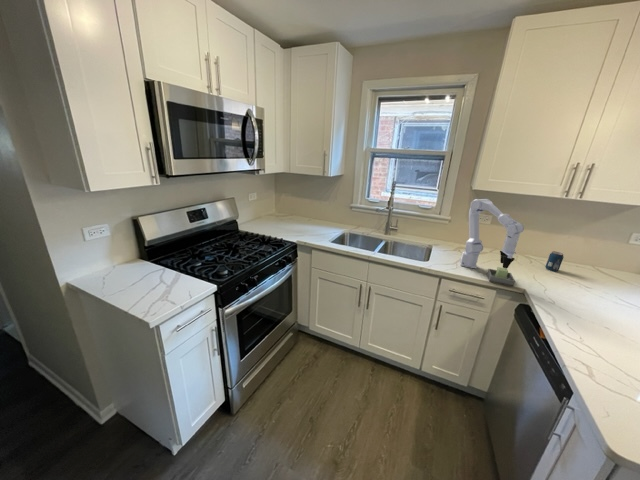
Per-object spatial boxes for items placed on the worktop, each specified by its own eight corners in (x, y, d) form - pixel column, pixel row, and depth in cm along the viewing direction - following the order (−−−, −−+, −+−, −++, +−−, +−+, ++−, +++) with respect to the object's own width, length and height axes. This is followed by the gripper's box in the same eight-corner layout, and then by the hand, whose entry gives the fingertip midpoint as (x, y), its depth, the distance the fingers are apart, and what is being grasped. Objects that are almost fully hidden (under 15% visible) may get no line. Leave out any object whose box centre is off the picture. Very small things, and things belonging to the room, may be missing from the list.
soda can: (549, 267, 180) (555, 250, 176) (560, 271, 174) (567, 254, 170) (542, 268, 178) (548, 251, 174) (553, 272, 172) (559, 255, 168)
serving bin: (489, 281, 155) (490, 276, 154) (486, 273, 165) (488, 268, 164) (513, 286, 150) (515, 281, 149) (509, 278, 161) (510, 272, 159)
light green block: (496, 279, 156) (498, 269, 154) (494, 276, 160) (497, 267, 158) (505, 280, 154) (508, 271, 152) (503, 277, 158) (506, 268, 156)
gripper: (521, 249, 142) (514, 271, 147) (515, 241, 155) (509, 262, 159) (506, 246, 145) (499, 269, 150) (501, 239, 158) (495, 260, 162)
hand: (503, 265), depth 155 cm, fingers open, 7 cm apart
